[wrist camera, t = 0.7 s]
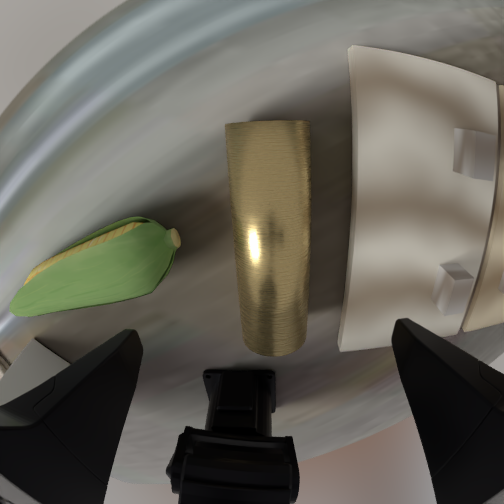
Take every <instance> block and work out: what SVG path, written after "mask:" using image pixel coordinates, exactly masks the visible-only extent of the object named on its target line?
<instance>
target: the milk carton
mask: <svg viewBox="0 0 504 504" xmlns="http://www.w3.org/2000/svg"><path fill="white" fill-rule="evenodd" d="M69 365H71V364H69V363H68V362H66V361H65V360H63V359H62V358H60V357H59V356H57V355H56V354H54V353H53V352H52V351H50V350H49V349H47V348H46V347H44V346H43V345H42V344H40V343H39V342H38V341H36V340H35V339H33V338H32V339H31V341H30V342H29V343H28V344H27V346H26V347H25V348H24V349H23V351H22V352H21V353H20V354H19V356H18V357H17V358H16V359H15V361H14V362H13V363H12V365H11V366H10V367H9V369H8V370H7V371H6V373H5V374H4V375H3V377H2V378H1V379H0V406H1V405H3V404H6V403H7V402H9V401H11V400H13V399H15V398H17V397H19V396H20V395H22V394H24V393H26V392H28V391H30V390H31V389H33V388H35V387H37V386H38V385H40V384H42V383H43V382H45V381H46V380H48V379H50V378H51V377H52V376H54V375H56V374H57V373H59V372H60V371H62V370H63V369H65V368H66V367H68V366H69Z"/></svg>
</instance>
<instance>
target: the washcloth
mask: <svg viewBox="0 0 504 504" xmlns="http://www.w3.org/2000/svg"><path fill="white" fill-rule="evenodd" d="M9 367H10V366H9V365H8V364H7V363H6V361H5V360H4V359H3V358H2V357H1V356H0V379H1V378H2V377H3V375H4V374H5V373H6V371H7V370H8V369H9Z"/></svg>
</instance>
